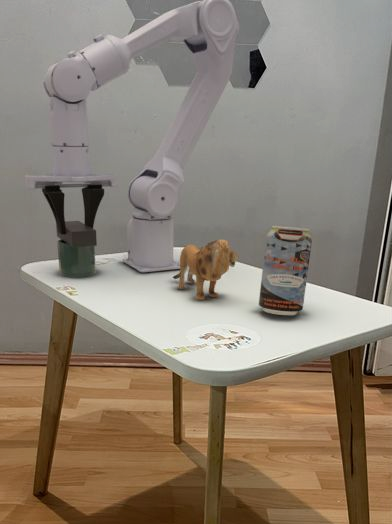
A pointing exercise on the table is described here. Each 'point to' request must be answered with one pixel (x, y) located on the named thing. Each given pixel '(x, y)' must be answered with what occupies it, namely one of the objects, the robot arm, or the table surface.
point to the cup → (76, 260)
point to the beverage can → (285, 270)
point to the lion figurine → (206, 265)
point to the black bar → (78, 234)
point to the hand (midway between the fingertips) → (75, 232)
